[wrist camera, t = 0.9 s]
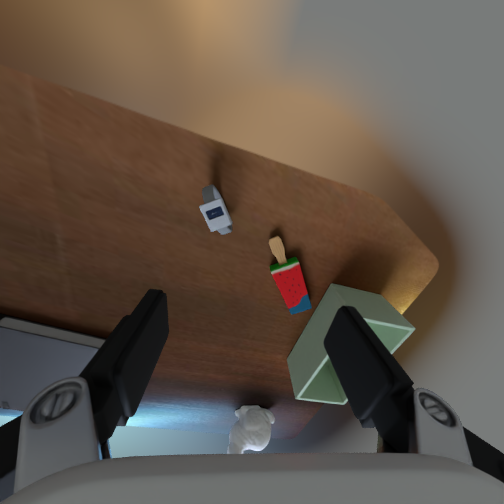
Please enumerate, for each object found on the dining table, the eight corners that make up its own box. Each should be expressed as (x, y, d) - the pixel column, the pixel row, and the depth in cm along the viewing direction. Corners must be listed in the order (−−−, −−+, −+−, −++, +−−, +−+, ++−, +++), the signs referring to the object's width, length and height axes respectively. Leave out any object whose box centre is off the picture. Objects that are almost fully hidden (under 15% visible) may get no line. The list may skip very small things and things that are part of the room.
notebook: (104, 410, 47) (119, 341, 36) (97, 422, 45) (111, 351, 34) (2, 395, 42) (-17, 309, 31) (-11, 407, 40) (-35, 319, 29)
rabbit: (232, 420, 52) (229, 488, 41) (223, 403, 47) (217, 473, 37) (274, 413, 51) (283, 481, 40) (270, 396, 47) (277, 466, 36)
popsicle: (289, 233, 26) (314, 307, 32) (287, 230, 27) (311, 302, 33) (259, 245, 26) (289, 315, 33) (258, 241, 28) (287, 309, 34)
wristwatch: (238, 223, 26) (237, 235, 22) (220, 229, 27) (216, 243, 22) (220, 179, 24) (215, 184, 19) (201, 187, 24) (191, 193, 20)
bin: (331, 282, 32) (354, 316, 25) (380, 294, 33) (416, 328, 27) (286, 359, 40) (295, 399, 34) (327, 365, 42) (344, 404, 35)
